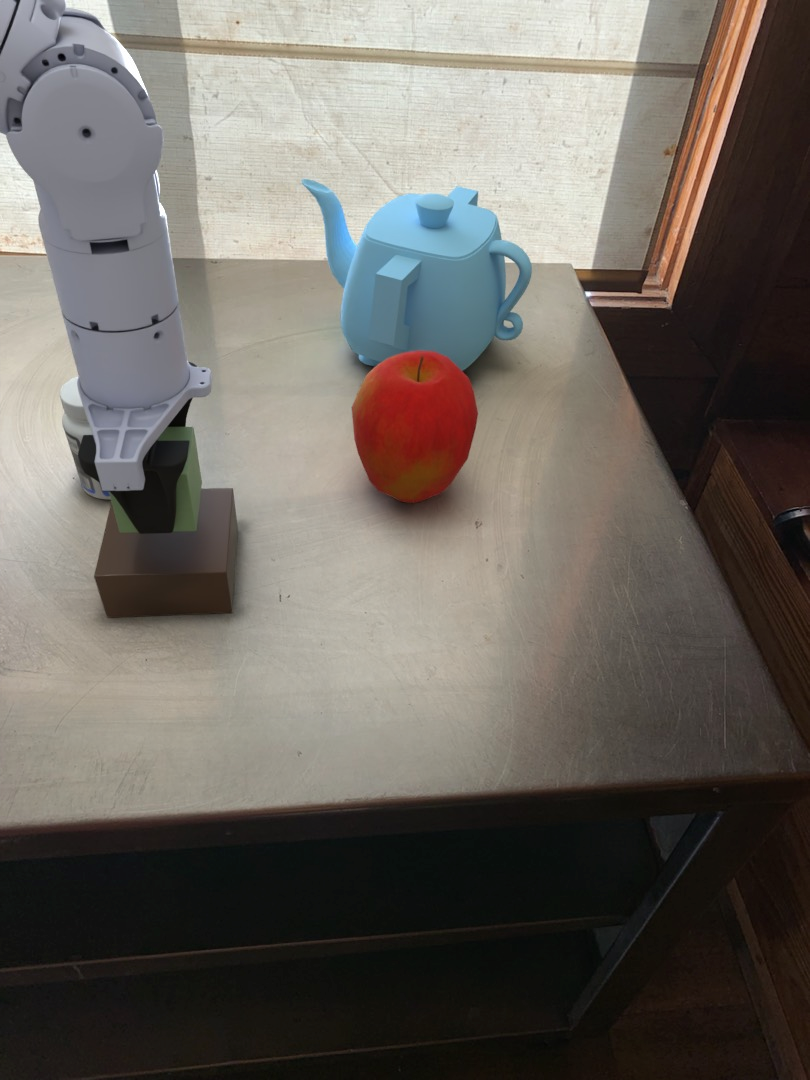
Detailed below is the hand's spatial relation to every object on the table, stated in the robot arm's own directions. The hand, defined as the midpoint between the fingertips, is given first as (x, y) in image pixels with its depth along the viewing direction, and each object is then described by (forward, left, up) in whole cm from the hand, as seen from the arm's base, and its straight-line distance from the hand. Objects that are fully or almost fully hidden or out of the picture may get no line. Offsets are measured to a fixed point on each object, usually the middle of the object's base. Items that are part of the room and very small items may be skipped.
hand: (161, 501), depth 50 cm
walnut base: (0, 0, -6) cm, 7 cm away
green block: (0, 0, 0) cm, 0 cm away
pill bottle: (-5, +10, -7) cm, 13 cm away
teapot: (+19, +29, -7) cm, 35 cm away
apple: (+17, +8, -7) cm, 20 cm away
